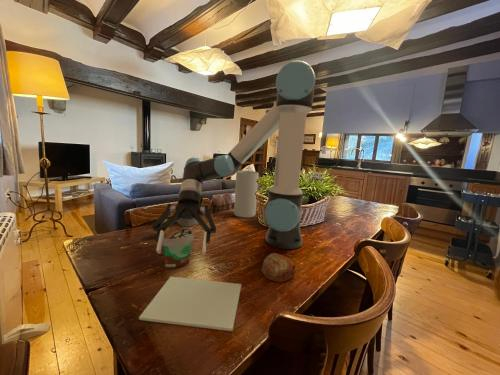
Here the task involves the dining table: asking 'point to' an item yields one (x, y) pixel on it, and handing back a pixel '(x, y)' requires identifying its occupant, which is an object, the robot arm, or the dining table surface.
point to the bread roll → (278, 267)
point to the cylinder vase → (245, 194)
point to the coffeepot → (189, 221)
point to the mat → (195, 304)
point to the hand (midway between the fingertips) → (181, 252)
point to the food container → (178, 249)
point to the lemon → (166, 229)
